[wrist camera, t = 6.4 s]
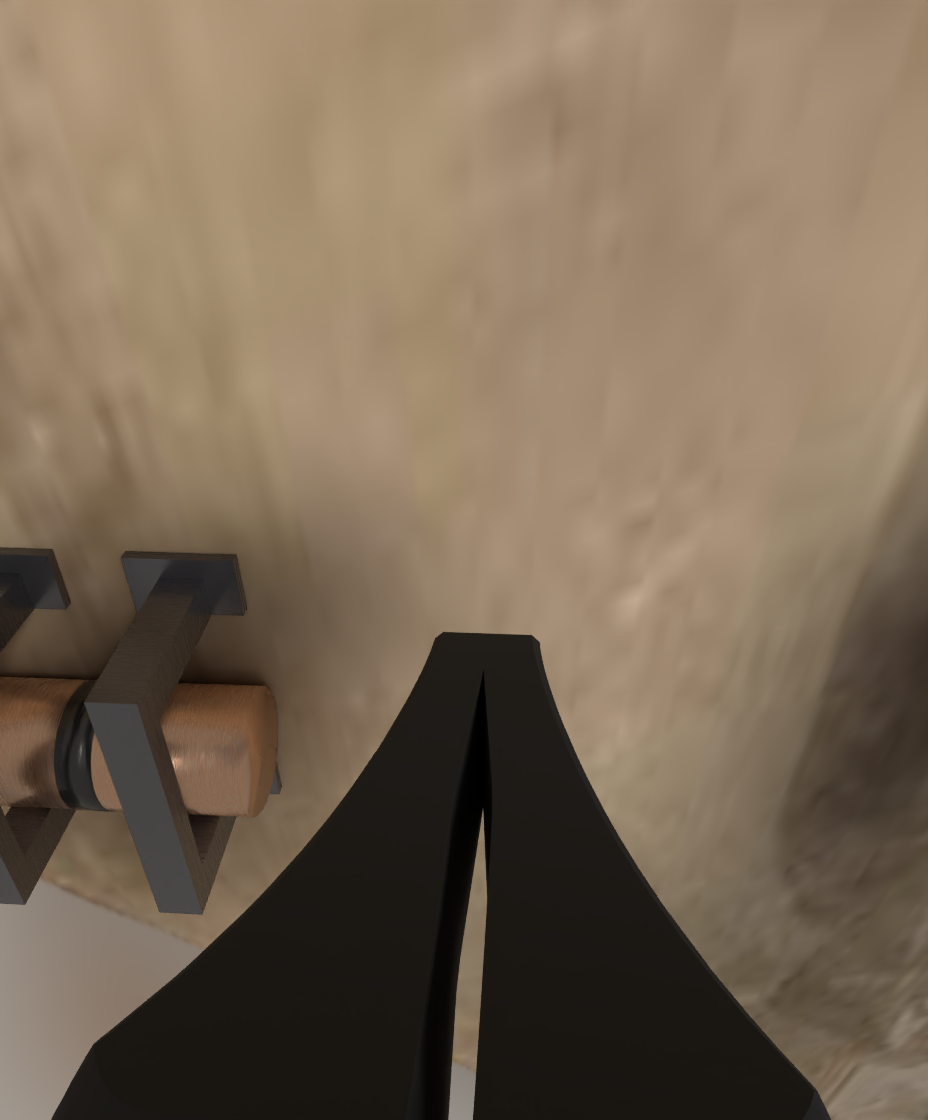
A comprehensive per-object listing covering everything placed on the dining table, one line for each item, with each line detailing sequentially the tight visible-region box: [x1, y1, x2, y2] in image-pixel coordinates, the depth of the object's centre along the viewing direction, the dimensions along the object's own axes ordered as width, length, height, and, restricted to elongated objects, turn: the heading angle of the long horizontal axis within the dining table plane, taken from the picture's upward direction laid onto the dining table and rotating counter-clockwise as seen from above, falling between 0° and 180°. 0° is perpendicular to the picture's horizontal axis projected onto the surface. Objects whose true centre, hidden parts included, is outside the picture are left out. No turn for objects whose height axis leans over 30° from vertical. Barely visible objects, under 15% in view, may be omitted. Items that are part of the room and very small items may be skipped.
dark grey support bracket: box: [84, 552, 282, 915], centre depth 23 cm, size 3×9×5 cm, turn 0°
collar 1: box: [0, 548, 76, 905], centre depth 24 cm, size 3×9×5 cm, turn 1°
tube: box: [0, 677, 278, 817], centre depth 25 cm, size 9×4×4 cm, turn 91°
